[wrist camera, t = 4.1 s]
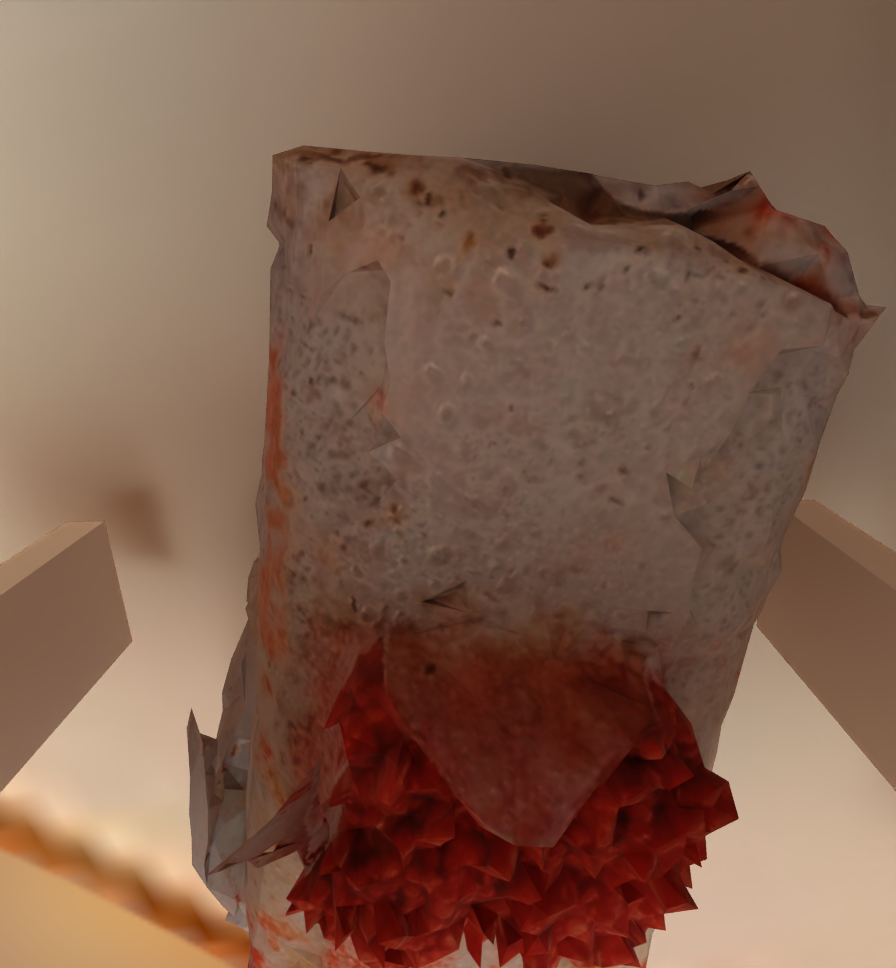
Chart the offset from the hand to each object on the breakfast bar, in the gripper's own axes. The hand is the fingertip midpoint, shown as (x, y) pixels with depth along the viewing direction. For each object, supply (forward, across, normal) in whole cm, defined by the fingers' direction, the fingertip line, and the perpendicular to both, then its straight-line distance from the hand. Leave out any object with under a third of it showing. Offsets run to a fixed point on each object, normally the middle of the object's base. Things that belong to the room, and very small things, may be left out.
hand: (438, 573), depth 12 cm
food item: (+3, +1, 0) cm, 3 cm away
